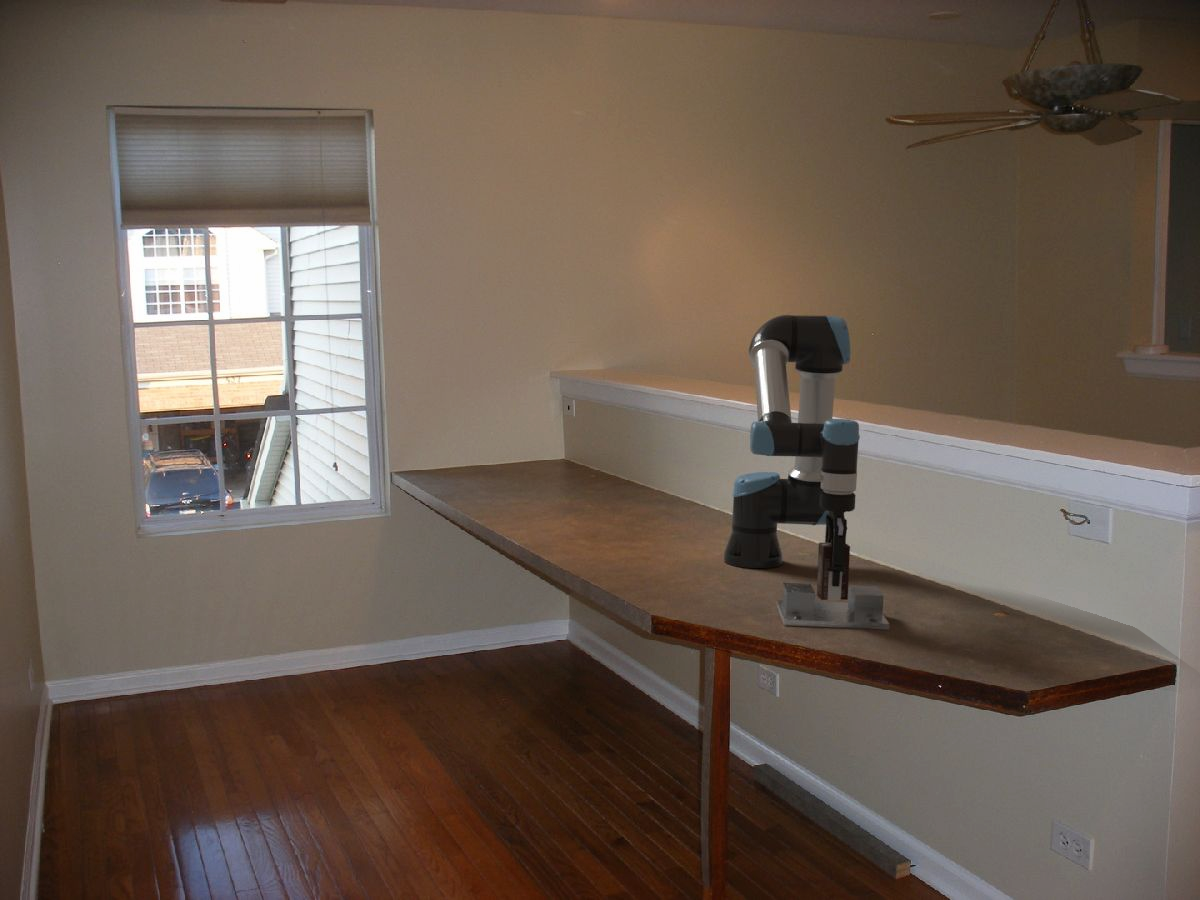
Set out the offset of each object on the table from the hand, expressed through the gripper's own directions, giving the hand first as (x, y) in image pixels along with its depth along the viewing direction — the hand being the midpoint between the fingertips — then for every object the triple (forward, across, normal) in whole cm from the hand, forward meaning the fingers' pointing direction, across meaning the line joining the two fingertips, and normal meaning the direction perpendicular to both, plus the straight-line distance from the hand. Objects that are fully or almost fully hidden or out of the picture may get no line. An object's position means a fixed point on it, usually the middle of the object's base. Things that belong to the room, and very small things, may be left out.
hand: (832, 596), depth 250 cm
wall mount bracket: (+5, 0, 0) cm, 5 cm away
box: (+1, 0, 0) cm, 1 cm away
